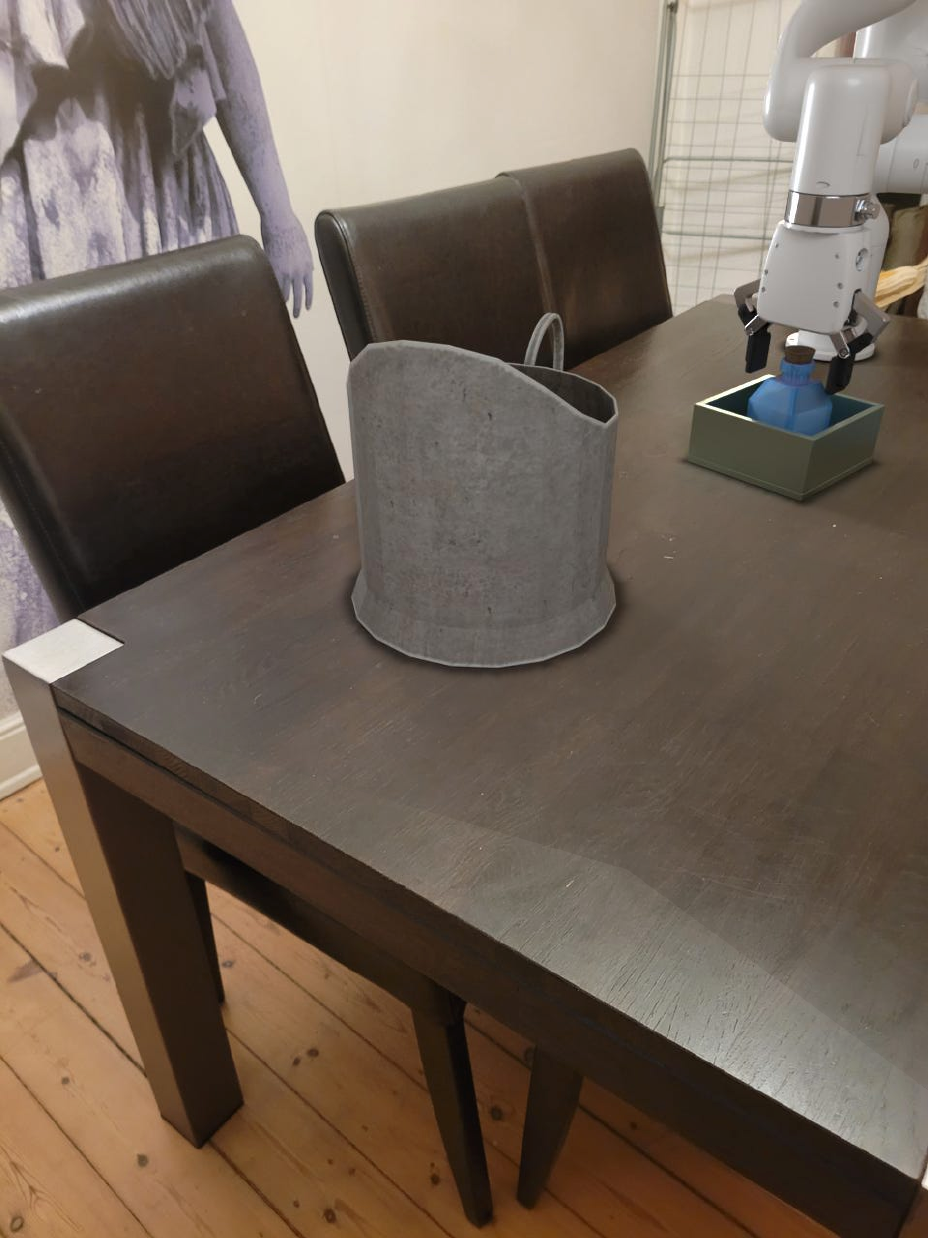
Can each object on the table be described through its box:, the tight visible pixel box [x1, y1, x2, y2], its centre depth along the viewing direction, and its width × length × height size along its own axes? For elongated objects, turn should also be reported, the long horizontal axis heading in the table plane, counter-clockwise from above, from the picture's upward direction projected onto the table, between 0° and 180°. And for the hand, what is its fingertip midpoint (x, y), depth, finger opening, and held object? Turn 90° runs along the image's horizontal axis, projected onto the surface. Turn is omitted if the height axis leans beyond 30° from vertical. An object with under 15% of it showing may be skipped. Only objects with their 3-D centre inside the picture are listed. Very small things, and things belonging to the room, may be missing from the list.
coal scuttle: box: [345, 312, 619, 669], centre depth 79 cm, size 23×32×25 cm
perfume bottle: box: [746, 345, 832, 436], centre depth 102 cm, size 6×6×12 cm
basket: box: [686, 374, 886, 502], centre depth 103 cm, size 15×15×7 cm
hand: (793, 380), depth 100 cm, fingers open, 9 cm apart
